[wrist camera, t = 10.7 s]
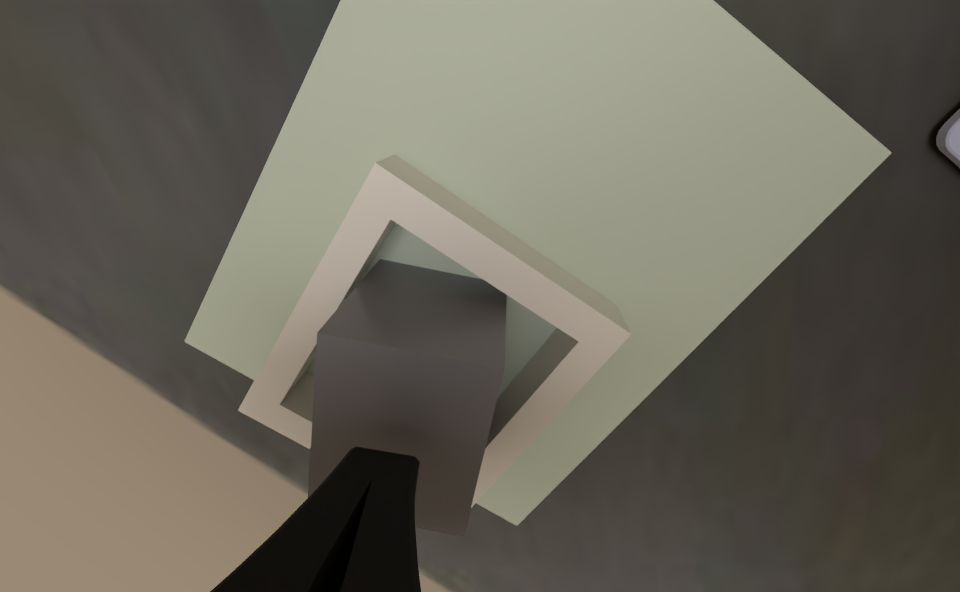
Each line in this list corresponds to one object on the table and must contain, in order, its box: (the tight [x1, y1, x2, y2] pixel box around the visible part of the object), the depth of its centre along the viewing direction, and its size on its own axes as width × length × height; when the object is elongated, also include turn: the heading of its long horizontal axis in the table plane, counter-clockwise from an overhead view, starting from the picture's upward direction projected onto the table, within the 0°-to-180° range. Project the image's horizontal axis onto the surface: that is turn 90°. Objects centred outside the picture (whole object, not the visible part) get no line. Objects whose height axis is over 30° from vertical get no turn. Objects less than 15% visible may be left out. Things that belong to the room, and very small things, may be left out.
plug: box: [308, 259, 507, 536], centre depth 13 cm, size 4×6×5 cm, turn 169°
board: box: [184, 0, 892, 526], centre depth 15 cm, size 14×17×1 cm
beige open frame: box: [238, 154, 631, 508], centre depth 14 cm, size 8×9×2 cm
